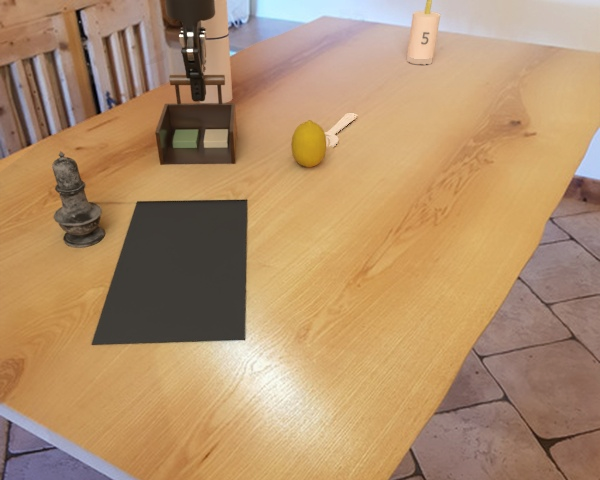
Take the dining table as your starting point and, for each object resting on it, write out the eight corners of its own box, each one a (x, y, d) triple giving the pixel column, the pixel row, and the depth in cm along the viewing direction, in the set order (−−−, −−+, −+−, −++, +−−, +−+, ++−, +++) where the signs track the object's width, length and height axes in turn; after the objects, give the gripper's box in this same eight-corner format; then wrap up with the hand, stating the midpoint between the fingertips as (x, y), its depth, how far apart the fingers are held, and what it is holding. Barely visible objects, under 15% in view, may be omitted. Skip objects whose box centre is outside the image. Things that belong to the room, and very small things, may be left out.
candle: (408, 65, 131) (417, -5, 121) (405, 57, 136) (414, -12, 126) (434, 66, 131) (446, -5, 121) (430, 57, 136) (441, -11, 126)
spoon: (366, 118, 105) (366, 115, 105) (326, 154, 93) (326, 151, 93) (341, 112, 107) (341, 110, 107) (298, 147, 95) (298, 144, 94)
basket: (169, 135, 98) (160, 73, 91) (237, 135, 98) (233, 73, 92) (160, 168, 88) (150, 101, 81) (235, 167, 89) (231, 100, 82)
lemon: (303, 179, 86) (304, 130, 81) (284, 165, 90) (284, 118, 84) (332, 171, 88) (335, 123, 83) (312, 158, 92) (314, 111, 87)
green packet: (176, 136, 96) (175, 129, 96) (199, 135, 97) (198, 129, 96) (173, 148, 93) (172, 141, 92) (197, 148, 93) (196, 141, 92)
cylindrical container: (210, 110, 107) (197, -38, 91) (190, 99, 111) (174, -44, 95) (239, 101, 111) (232, -43, 95) (218, 91, 115) (208, -48, 99)
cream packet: (206, 135, 97) (205, 129, 96) (228, 135, 97) (228, 129, 96) (204, 148, 93) (203, 141, 92) (227, 147, 93) (227, 141, 92)
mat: (147, 169, 88) (147, 167, 88) (247, 167, 89) (247, 166, 89) (91, 344, 57) (91, 343, 57) (244, 340, 58) (244, 338, 58)
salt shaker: (80, 220, 76) (57, 137, 68) (116, 229, 74) (96, 146, 66) (51, 242, 72) (23, 157, 64) (88, 252, 70) (64, 166, 62)
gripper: (167, -27, 87) (181, 84, 98) (156, -9, 76) (172, 113, 88) (215, -27, 87) (223, 84, 98) (210, -8, 77) (219, 113, 88)
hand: (199, 97), depth 93 cm, fingers closed on basket
